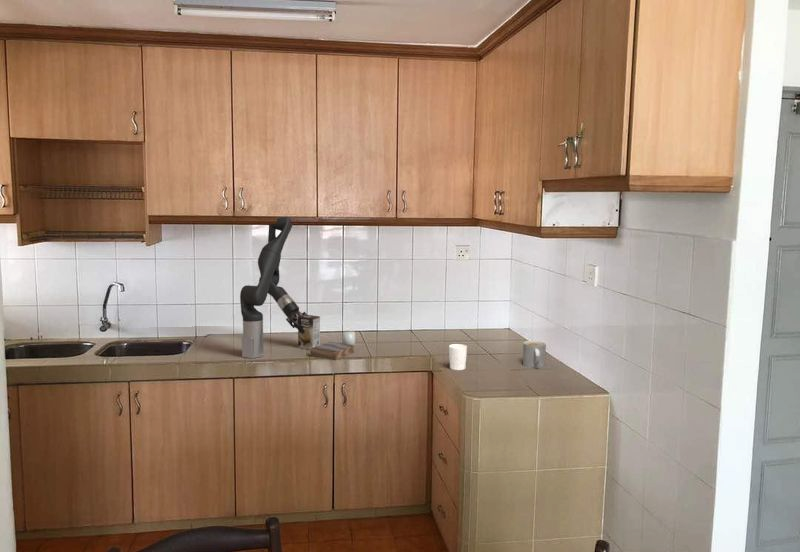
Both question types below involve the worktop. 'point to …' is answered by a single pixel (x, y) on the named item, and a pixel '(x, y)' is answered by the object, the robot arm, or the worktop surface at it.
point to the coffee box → (309, 331)
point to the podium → (332, 350)
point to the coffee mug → (534, 354)
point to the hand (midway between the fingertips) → (307, 331)
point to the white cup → (457, 356)
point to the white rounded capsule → (349, 337)
